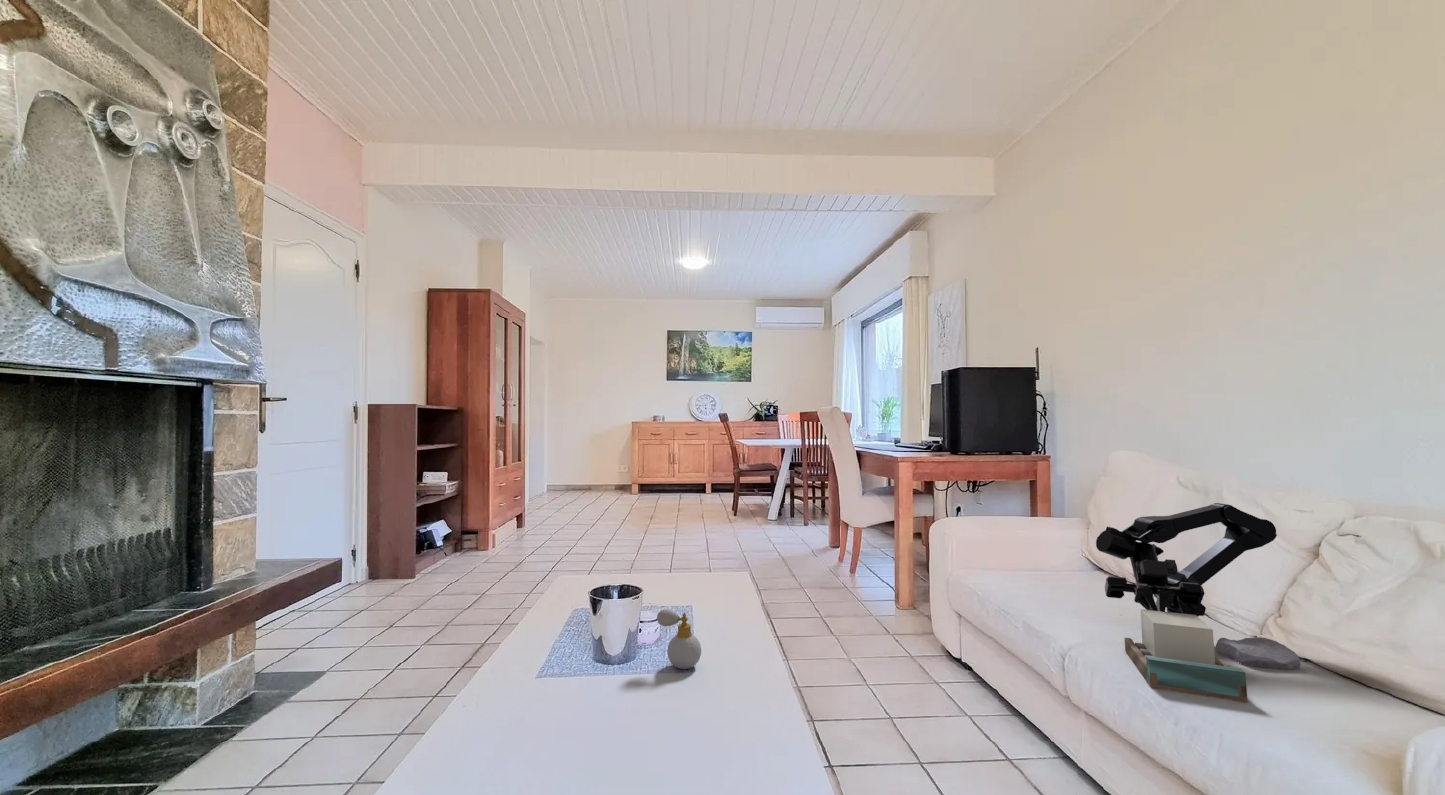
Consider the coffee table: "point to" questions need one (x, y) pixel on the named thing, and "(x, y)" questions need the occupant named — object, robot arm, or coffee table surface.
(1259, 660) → the stone block
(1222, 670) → the roller bed
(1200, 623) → the limestone slab
